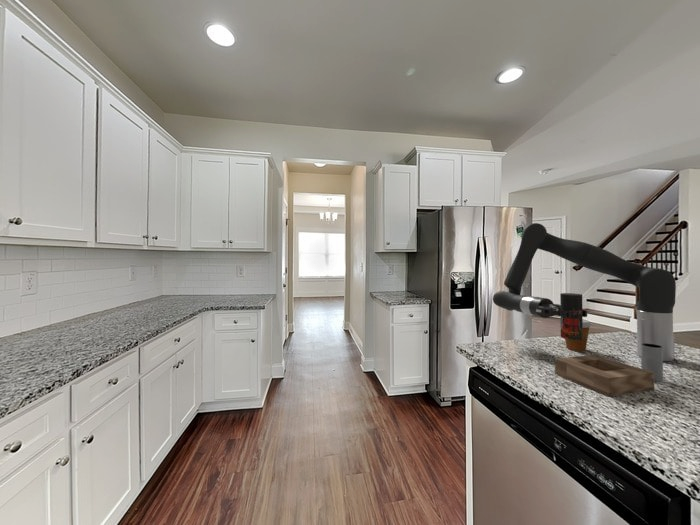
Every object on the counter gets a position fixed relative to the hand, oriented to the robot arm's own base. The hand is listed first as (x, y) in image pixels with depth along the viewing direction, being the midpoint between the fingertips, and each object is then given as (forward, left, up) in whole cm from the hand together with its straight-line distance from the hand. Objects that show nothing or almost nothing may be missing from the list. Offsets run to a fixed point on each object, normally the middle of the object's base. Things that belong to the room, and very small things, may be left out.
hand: (578, 314), depth 96 cm
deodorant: (0, -3, -9) cm, 9 cm away
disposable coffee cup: (-21, -18, -19) cm, 33 cm away
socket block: (+2, +9, -19) cm, 21 cm away
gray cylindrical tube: (-15, +11, -19) cm, 26 cm away
